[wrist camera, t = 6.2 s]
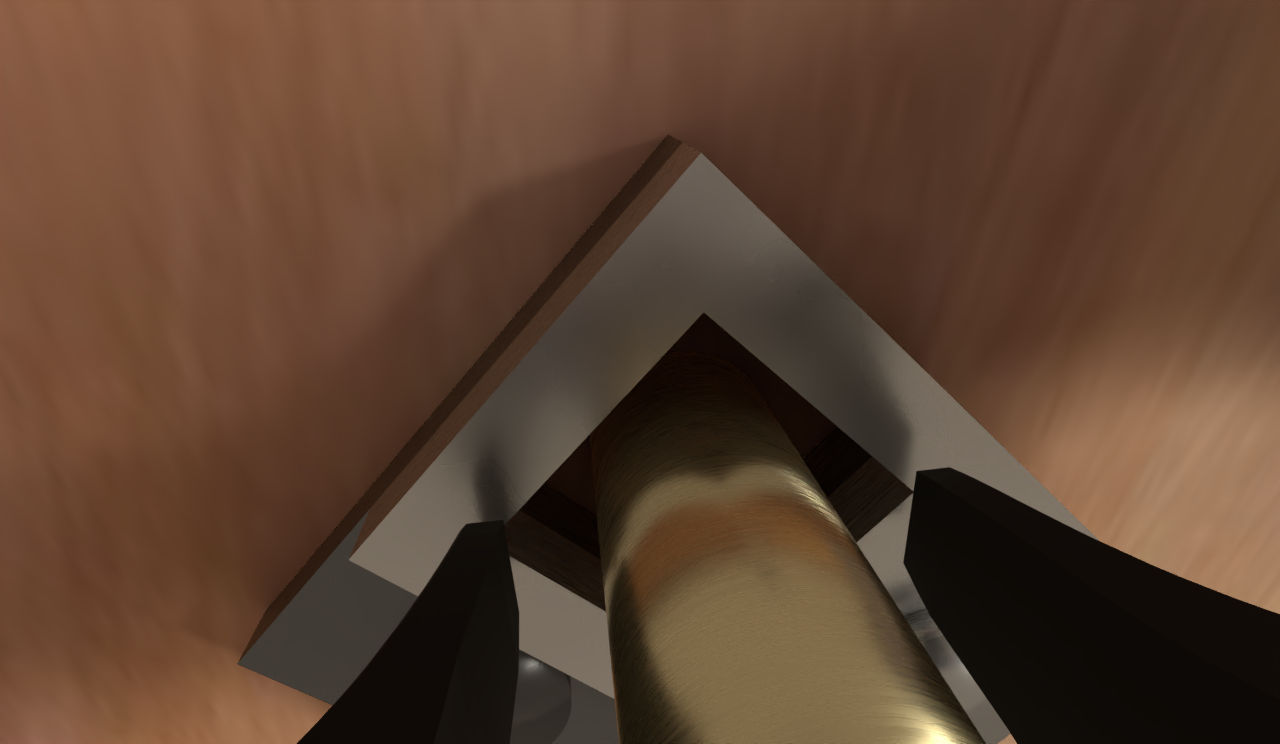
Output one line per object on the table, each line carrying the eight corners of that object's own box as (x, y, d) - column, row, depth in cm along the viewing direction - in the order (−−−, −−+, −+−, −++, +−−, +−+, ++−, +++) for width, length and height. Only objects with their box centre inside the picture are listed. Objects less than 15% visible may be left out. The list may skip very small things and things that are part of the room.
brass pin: (801, 420, 15) (1094, 831, 7) (681, 535, 16) (815, 1016, 8) (674, 314, 14) (856, 674, 5) (551, 446, 15) (550, 922, 6)
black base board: (668, 134, 12) (691, 147, 10) (949, 405, 15) (1011, 458, 13) (265, 611, 15) (220, 696, 13) (565, 752, 19) (567, 838, 17)
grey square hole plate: (387, 467, 14) (334, 592, 11) (668, 134, 12) (713, 159, 9) (808, 716, 19) (864, 857, 16) (1059, 512, 17) (1187, 623, 14)
